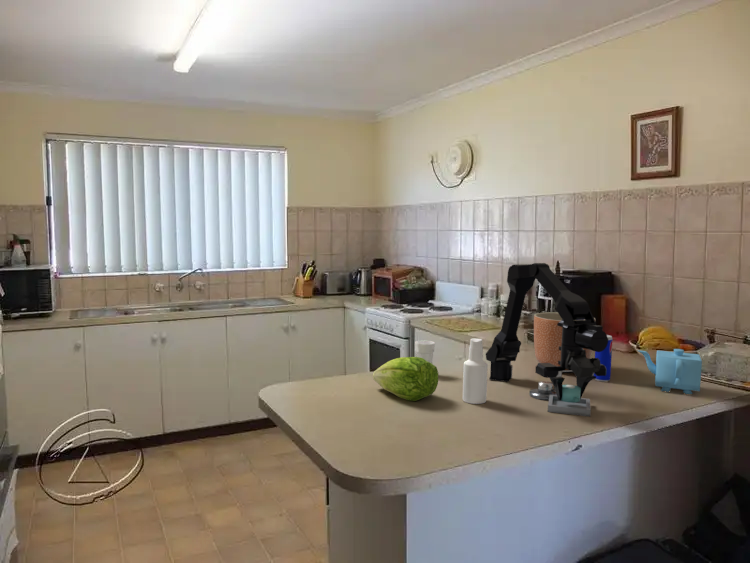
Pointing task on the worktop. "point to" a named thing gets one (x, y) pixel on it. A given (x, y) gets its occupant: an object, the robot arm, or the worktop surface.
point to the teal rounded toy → (571, 393)
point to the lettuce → (408, 377)
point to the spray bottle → (475, 374)
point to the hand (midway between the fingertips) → (569, 399)
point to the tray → (569, 406)
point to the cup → (425, 350)
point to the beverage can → (605, 360)
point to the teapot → (676, 370)
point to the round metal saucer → (542, 391)
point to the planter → (549, 338)
